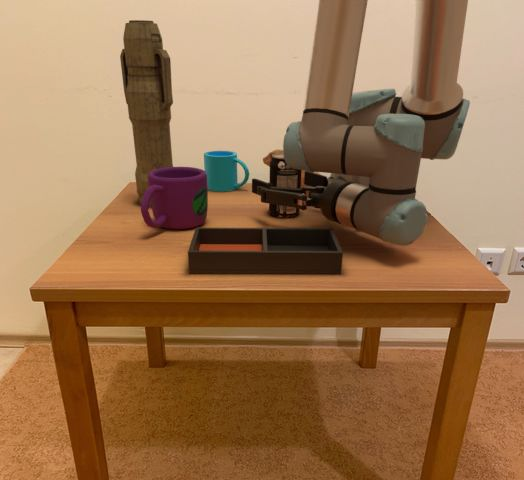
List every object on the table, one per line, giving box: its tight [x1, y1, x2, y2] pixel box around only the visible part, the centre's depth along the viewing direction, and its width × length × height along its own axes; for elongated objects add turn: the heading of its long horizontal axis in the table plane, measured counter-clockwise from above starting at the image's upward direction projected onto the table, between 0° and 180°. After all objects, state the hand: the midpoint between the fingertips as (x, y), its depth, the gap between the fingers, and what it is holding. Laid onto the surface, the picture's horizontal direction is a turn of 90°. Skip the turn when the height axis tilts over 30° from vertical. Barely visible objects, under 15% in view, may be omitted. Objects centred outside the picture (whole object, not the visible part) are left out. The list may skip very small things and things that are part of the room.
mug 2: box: [203, 150, 250, 192], centre depth 127 cm, size 12×8×8 cm
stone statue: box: [119, 19, 174, 208], centre depth 108 cm, size 9×12×35 cm
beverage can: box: [268, 153, 302, 218], centre depth 107 cm, size 7×7×12 cm
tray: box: [187, 226, 344, 275], centre depth 85 cm, size 12×24×4 cm, turn 91°
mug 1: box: [140, 166, 209, 230], centre depth 99 cm, size 17×11×10 cm, turn 154°
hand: (280, 181), depth 108 cm, fingers open, 13 cm apart
